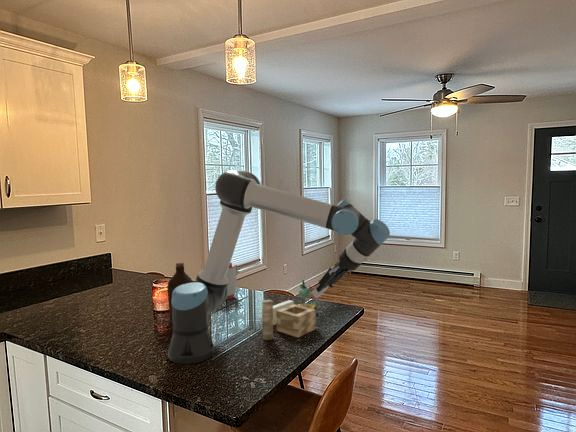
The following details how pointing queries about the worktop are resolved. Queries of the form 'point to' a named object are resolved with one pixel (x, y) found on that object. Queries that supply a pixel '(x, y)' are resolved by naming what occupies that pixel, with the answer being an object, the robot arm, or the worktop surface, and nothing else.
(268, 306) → the dowel
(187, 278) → the olive oil
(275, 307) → the backstop
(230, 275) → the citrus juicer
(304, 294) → the green yellow irregular piece
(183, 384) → the worktop surface
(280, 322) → the block
